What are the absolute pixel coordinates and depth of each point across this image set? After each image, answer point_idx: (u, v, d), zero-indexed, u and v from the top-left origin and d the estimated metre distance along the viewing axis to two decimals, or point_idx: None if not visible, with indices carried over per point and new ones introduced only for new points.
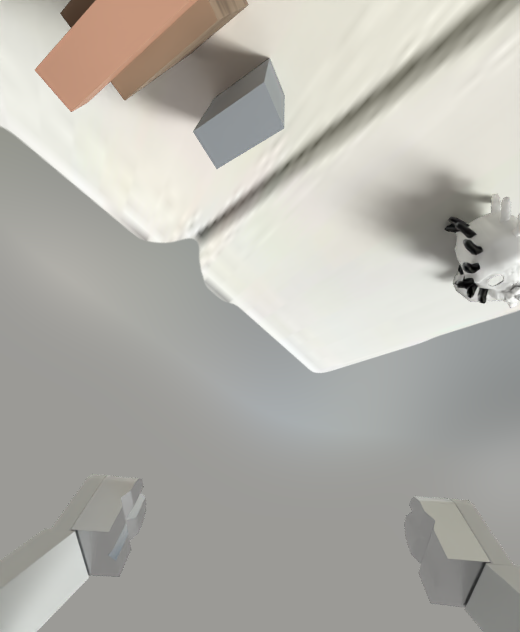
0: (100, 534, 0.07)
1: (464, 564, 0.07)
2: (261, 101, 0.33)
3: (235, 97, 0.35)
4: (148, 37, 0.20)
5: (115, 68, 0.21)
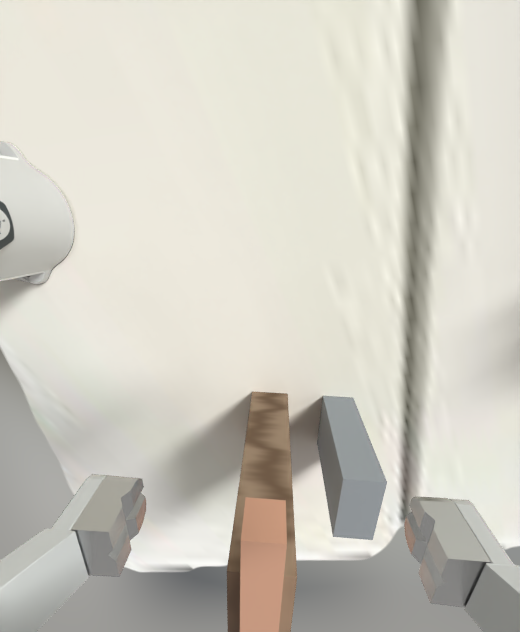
0: (100, 535, 0.07)
1: (464, 564, 0.07)
2: (353, 487, 0.34)
3: (334, 483, 0.38)
4: None
5: None
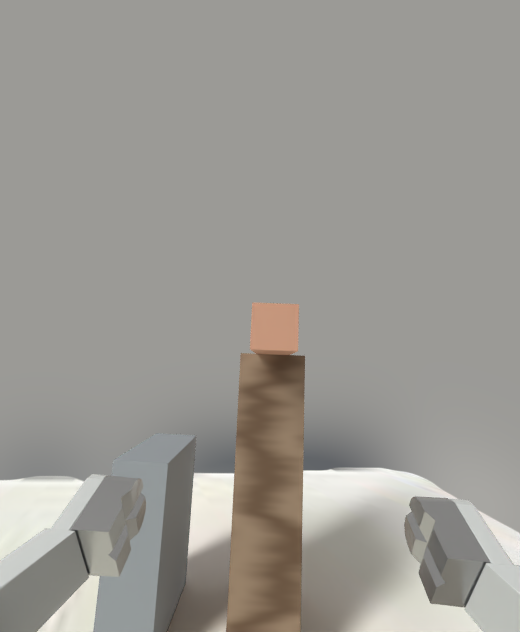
0: (100, 535, 0.07)
1: (464, 564, 0.07)
2: (158, 458, 0.27)
3: (179, 479, 0.29)
4: None
5: None
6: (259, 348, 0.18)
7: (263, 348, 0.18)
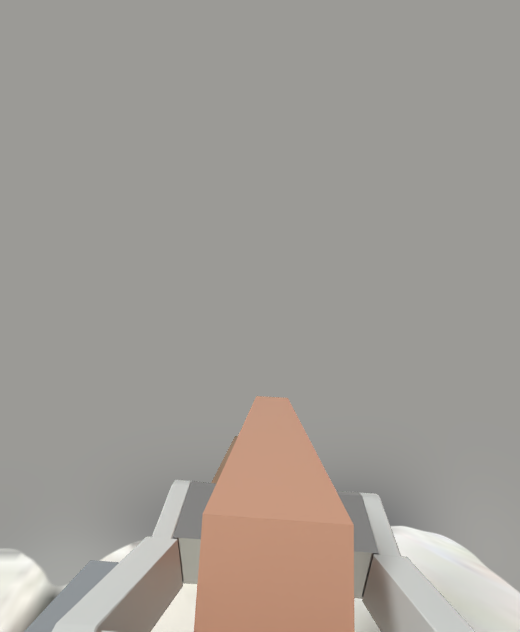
0: None
1: (354, 555, 0.07)
2: None
3: None
4: (250, 411, 0.19)
5: (253, 404, 0.22)
6: None
7: None
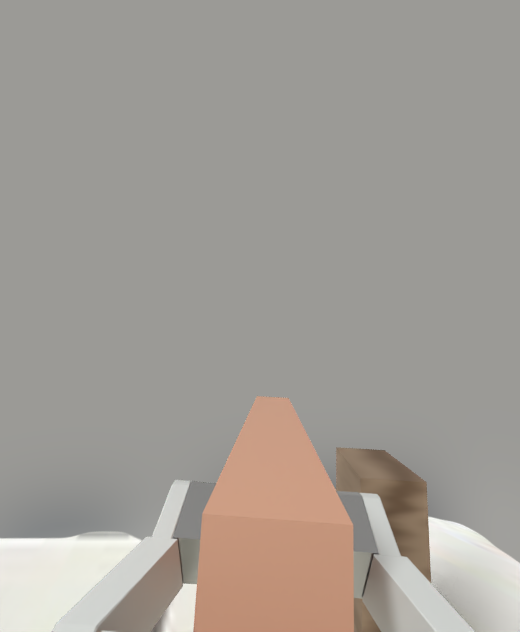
0: None
1: (354, 556, 0.07)
2: None
3: None
4: (251, 411, 0.19)
5: (254, 404, 0.22)
6: None
7: None
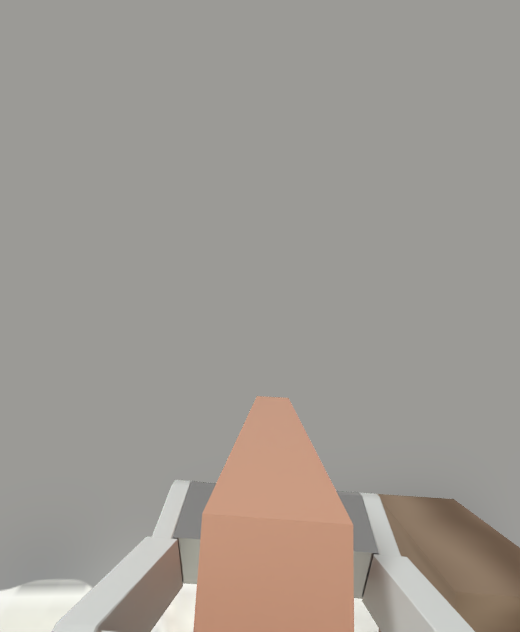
0: None
1: (354, 555, 0.07)
2: None
3: None
4: (251, 411, 0.19)
5: (254, 404, 0.22)
6: None
7: None
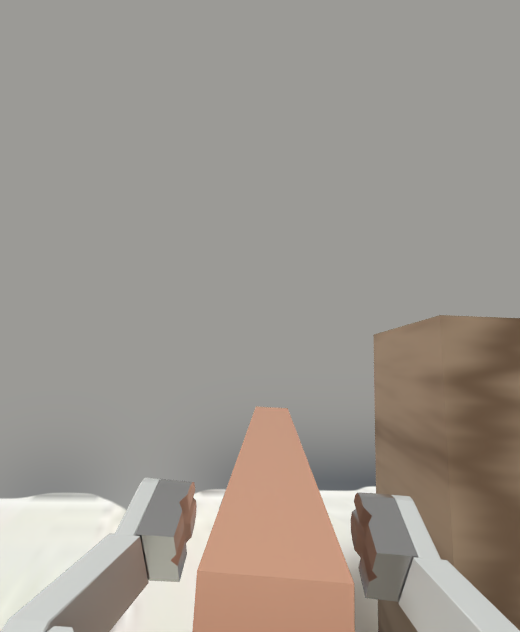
0: (165, 539, 0.07)
1: (393, 559, 0.07)
2: None
3: None
4: (249, 426, 0.19)
5: (253, 417, 0.22)
6: None
7: None
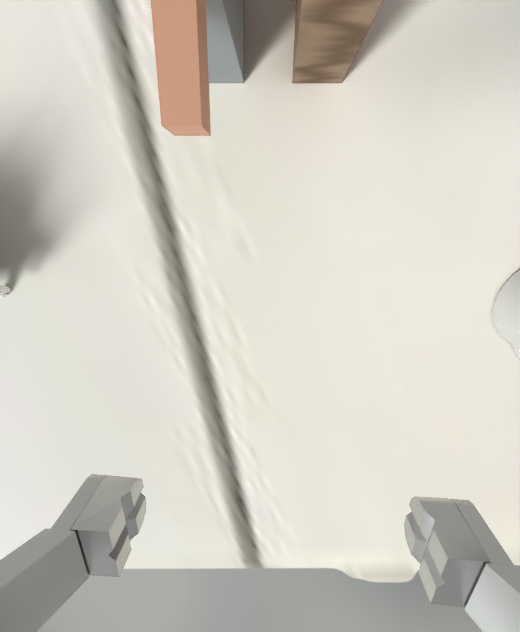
0: (100, 534, 0.07)
1: (464, 564, 0.07)
2: None
3: None
4: None
5: None
6: (181, 135, 0.24)
7: (184, 135, 0.24)
